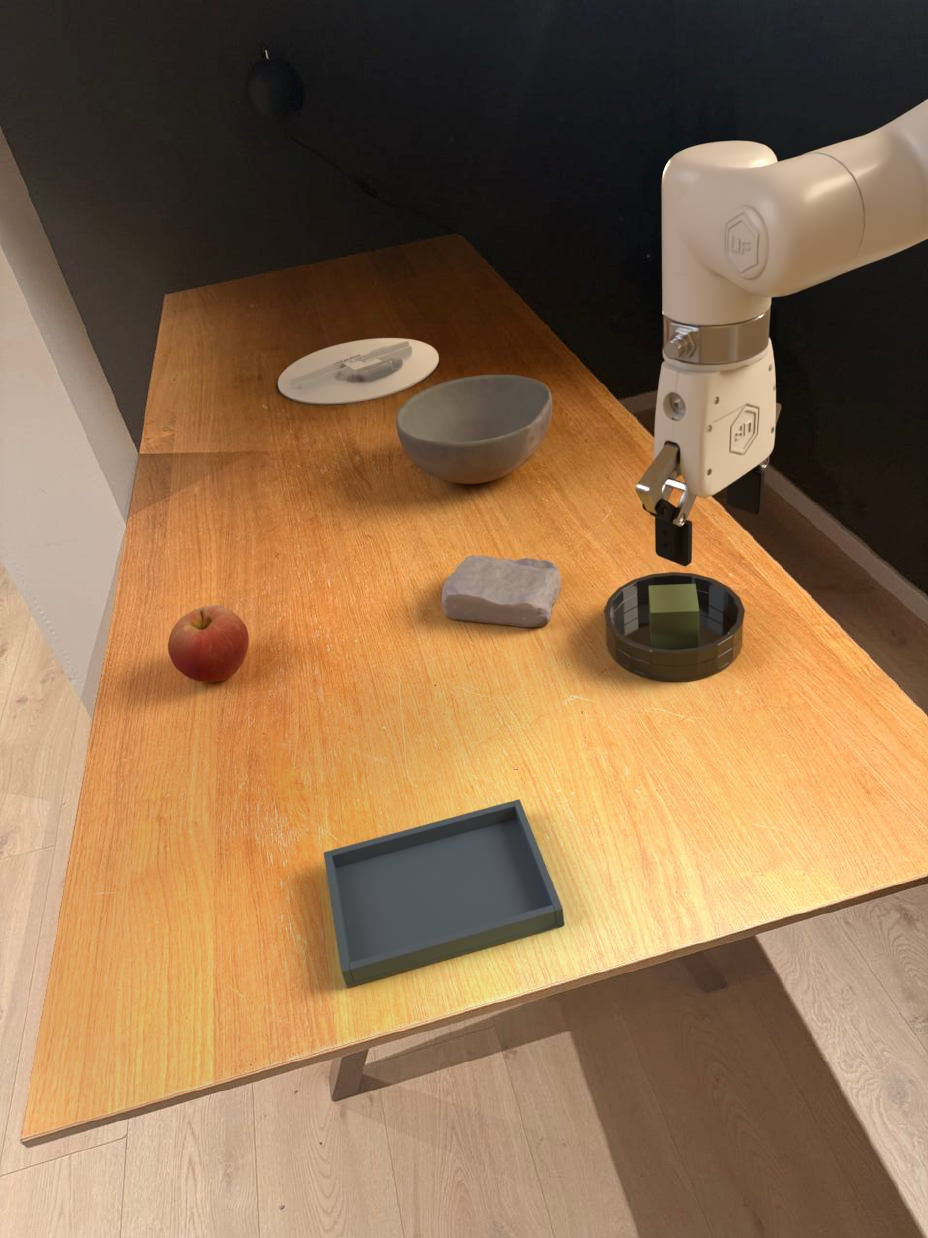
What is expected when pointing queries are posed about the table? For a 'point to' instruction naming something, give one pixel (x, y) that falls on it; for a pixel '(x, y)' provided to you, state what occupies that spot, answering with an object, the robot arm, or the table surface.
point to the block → (673, 616)
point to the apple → (208, 644)
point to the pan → (635, 654)
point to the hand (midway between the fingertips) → (709, 533)
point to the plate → (358, 371)
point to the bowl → (475, 426)
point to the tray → (438, 892)
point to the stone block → (502, 591)
